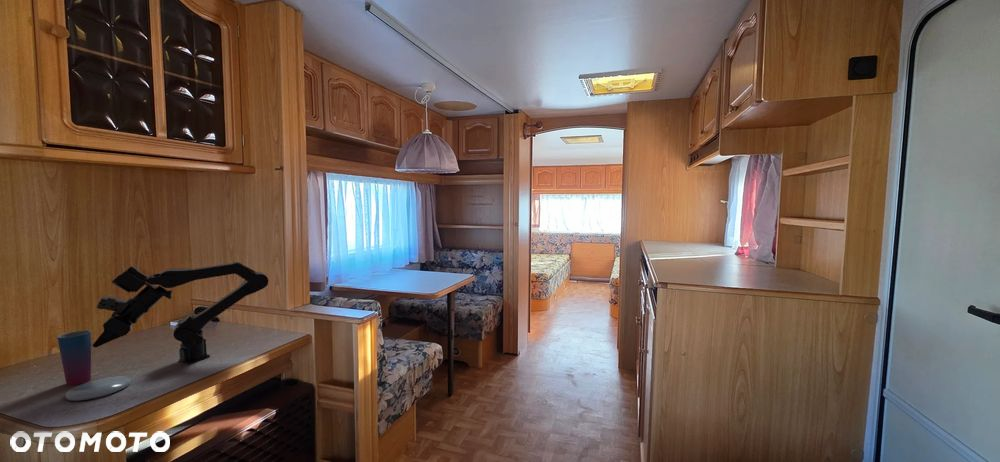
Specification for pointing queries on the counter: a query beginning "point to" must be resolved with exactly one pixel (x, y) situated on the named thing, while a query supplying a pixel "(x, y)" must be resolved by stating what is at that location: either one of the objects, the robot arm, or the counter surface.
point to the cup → (76, 356)
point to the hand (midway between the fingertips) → (97, 342)
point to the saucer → (98, 388)
